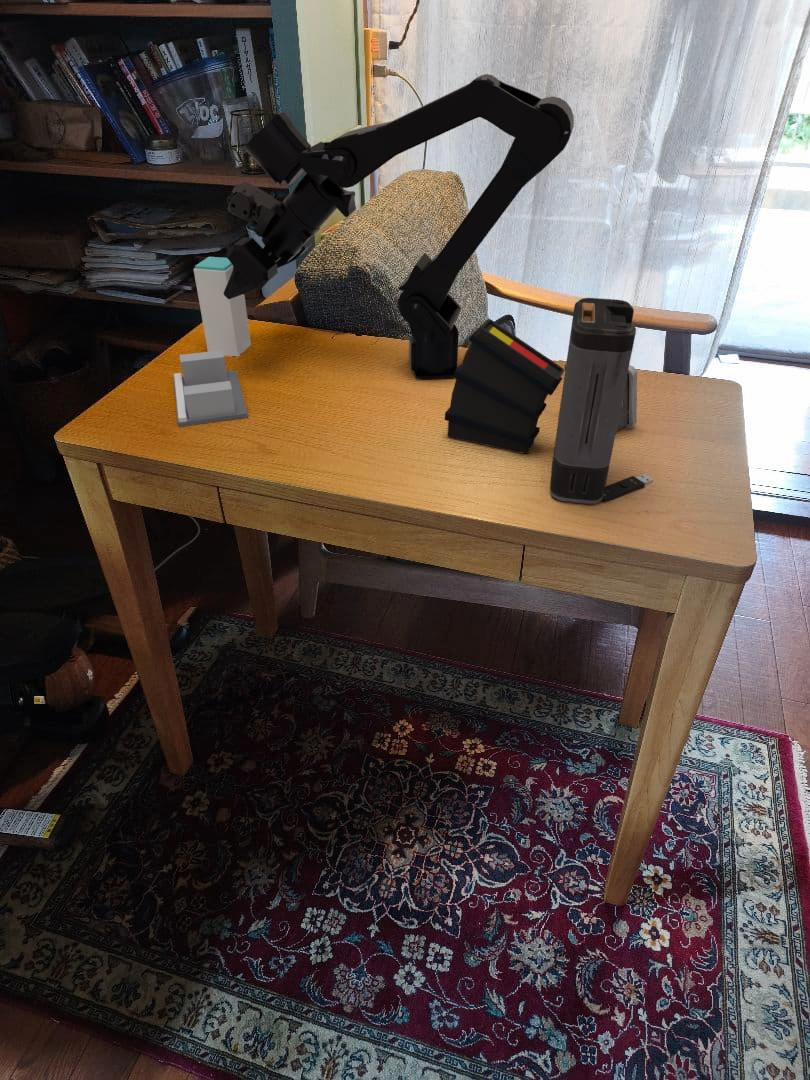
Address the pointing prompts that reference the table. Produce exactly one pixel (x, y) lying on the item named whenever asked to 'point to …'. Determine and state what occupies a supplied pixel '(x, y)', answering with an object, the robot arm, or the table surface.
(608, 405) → the electronic device
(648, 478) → the usb flash drive
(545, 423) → the table surface
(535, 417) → the magazine
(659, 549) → the table surface
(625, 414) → the electrical switch
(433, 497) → the table surface
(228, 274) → the block
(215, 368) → the rail board
